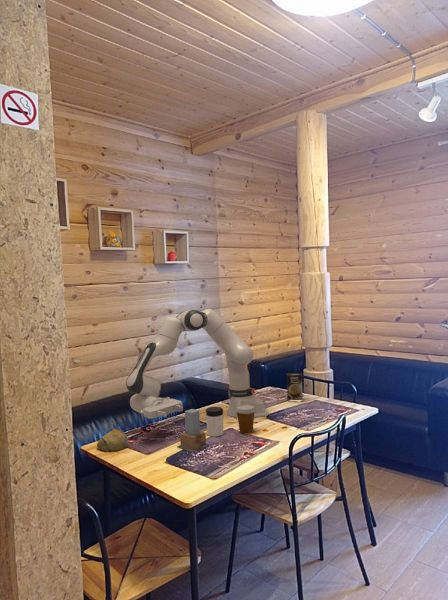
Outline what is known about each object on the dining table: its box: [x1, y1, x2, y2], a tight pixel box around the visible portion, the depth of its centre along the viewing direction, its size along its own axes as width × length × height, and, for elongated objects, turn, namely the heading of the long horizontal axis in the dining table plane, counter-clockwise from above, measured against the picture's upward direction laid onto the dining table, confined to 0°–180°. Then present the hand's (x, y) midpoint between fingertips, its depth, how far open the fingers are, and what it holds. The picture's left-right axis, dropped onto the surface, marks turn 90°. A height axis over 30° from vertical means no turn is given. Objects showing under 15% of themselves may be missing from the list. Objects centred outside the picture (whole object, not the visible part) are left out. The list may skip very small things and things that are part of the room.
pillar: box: [184, 408, 201, 436], centre depth 196 cm, size 4×4×10 cm
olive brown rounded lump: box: [96, 428, 130, 452], centre depth 199 cm, size 14×12×8 cm
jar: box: [205, 406, 225, 438], centre depth 212 cm, size 9×8×12 cm
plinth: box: [176, 430, 210, 454], centre depth 196 cm, size 10×10×6 cm
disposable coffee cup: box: [236, 405, 255, 435], centre depth 213 cm, size 10×10×12 cm
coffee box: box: [286, 372, 304, 401], centre depth 264 cm, size 9×6×16 cm
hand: (174, 411), depth 203 cm, fingers open, 8 cm apart
